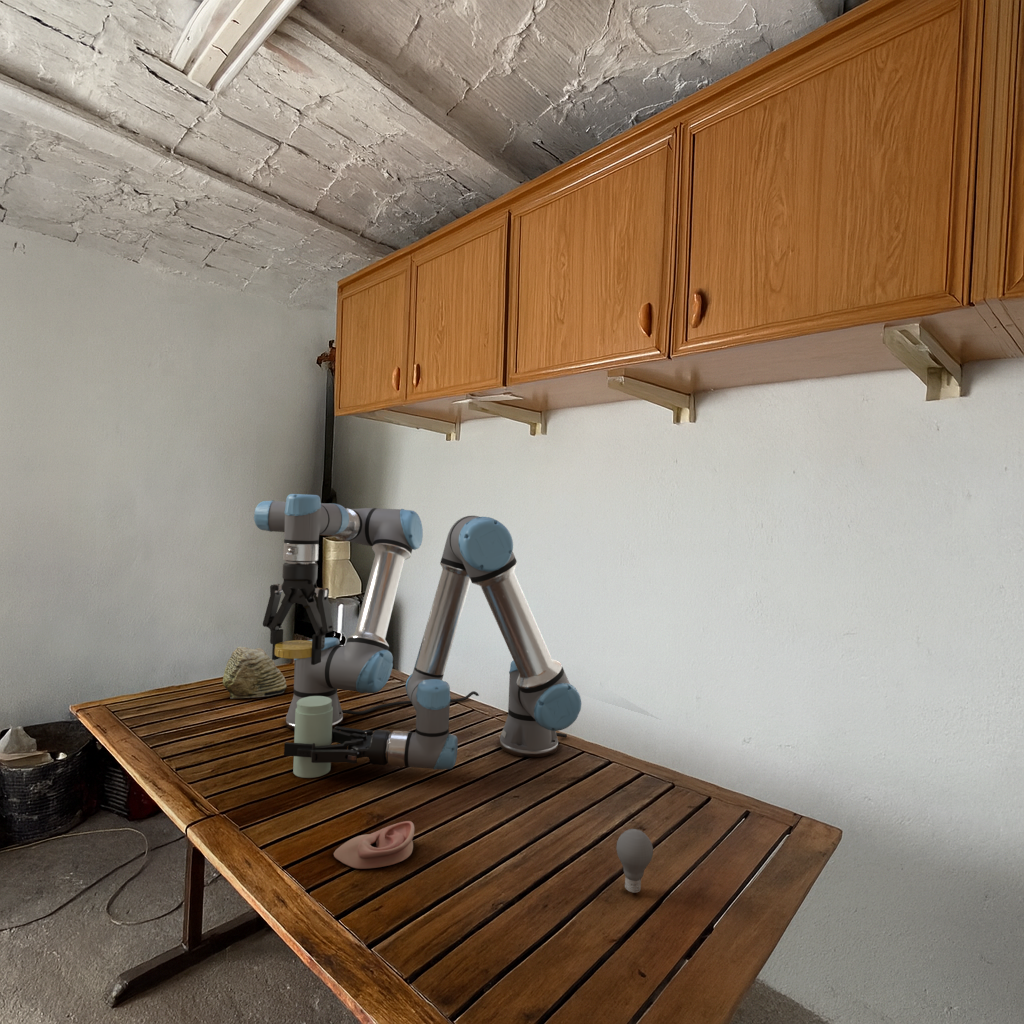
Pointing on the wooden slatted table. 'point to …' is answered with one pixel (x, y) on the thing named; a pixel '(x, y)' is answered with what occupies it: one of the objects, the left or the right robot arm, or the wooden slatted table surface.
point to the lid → (294, 649)
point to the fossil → (252, 674)
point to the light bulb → (634, 857)
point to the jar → (312, 733)
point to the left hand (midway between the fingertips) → (296, 660)
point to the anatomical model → (378, 847)
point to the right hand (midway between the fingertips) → (293, 741)
